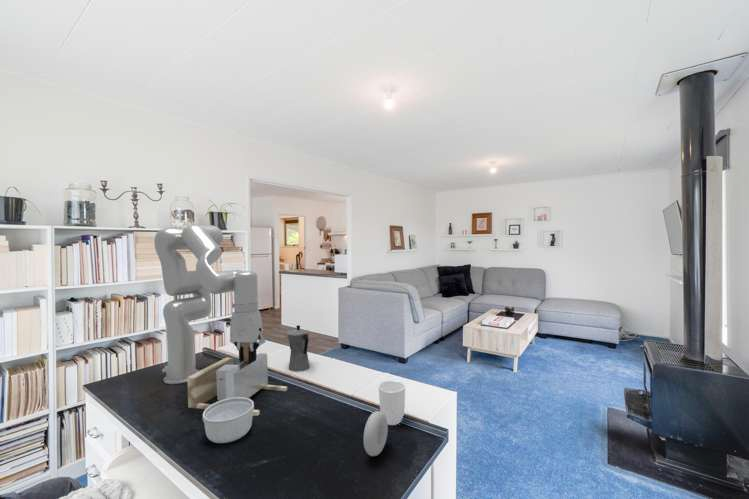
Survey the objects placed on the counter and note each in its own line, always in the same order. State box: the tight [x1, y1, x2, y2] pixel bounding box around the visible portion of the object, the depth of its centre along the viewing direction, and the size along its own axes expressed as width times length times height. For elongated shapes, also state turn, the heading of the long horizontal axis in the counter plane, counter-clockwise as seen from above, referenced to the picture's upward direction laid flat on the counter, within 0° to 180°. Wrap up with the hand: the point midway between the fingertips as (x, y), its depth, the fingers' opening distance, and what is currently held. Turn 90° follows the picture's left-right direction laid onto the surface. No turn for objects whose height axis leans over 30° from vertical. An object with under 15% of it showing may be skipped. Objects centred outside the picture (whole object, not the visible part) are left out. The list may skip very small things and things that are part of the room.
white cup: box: [378, 380, 406, 426], centre depth 97 cm, size 8×8×10 cm
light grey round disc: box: [362, 410, 389, 457], centre depth 82 cm, size 10×4×10 cm, turn 155°
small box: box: [216, 364, 239, 402], centre depth 113 cm, size 8×6×10 cm
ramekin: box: [202, 397, 255, 444], centre depth 92 cm, size 13×13×7 cm
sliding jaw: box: [225, 343, 269, 399], centre depth 111 cm, size 4×19×20 cm, turn 166°
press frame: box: [187, 357, 288, 417], centre depth 112 cm, size 26×19×10 cm
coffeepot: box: [287, 325, 310, 372], centre depth 138 cm, size 15×9×18 cm, turn 37°
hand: (247, 360), depth 111 cm, fingers closed on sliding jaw, 3 cm apart
